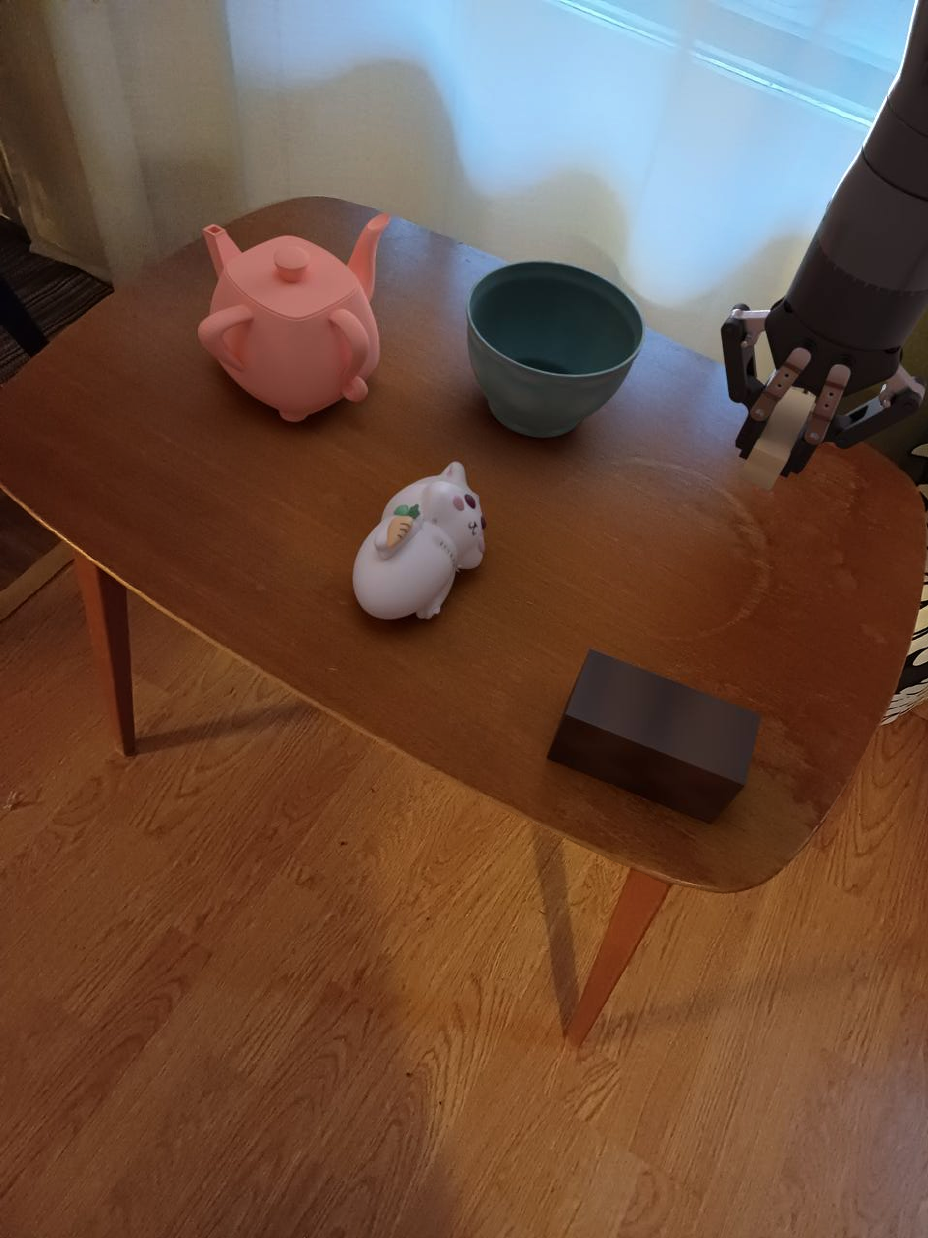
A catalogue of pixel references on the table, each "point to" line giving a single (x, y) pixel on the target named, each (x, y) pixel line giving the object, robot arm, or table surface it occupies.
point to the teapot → (294, 319)
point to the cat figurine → (420, 547)
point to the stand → (655, 737)
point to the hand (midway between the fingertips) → (766, 459)
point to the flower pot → (550, 343)
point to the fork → (778, 438)
